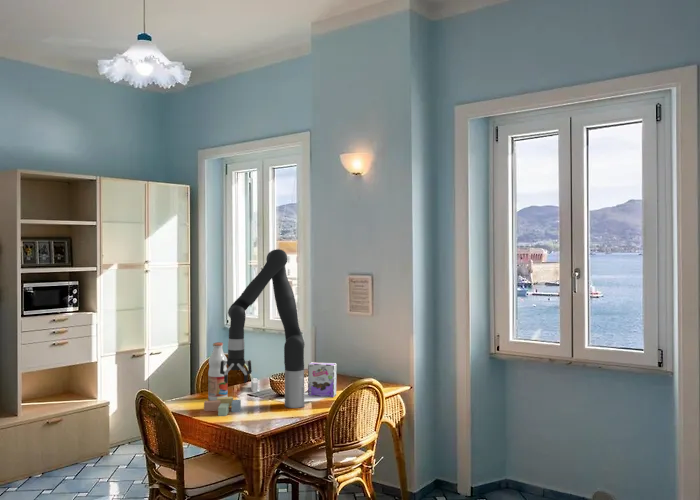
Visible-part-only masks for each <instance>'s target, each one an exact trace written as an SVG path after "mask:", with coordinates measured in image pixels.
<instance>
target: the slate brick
mask: <svg viewBox="0 0 700 500" xmlns="http://www.w3.org/2000/svg"><path fill="white" fill-rule="evenodd" d="M241 403H242V402H241V399H233V401H232V407H231V413H240V411H241V407H242V406H241Z"/></svg>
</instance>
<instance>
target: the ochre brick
mask: <svg viewBox="0 0 700 500" xmlns="http://www.w3.org/2000/svg"><path fill="white" fill-rule="evenodd" d="M217 400H221V403H229V408H230V407H231V408H232V401H233V400H234V397H233V396H228V397H218V398H217Z"/></svg>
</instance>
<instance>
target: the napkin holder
mask: <svg viewBox="0 0 700 500" xmlns="http://www.w3.org/2000/svg"><path fill="white" fill-rule="evenodd" d="M250 385H251V386H250V387H251V388H250V389H251V391H252V393H258V389H259V379H258V378H257V377H256V378H255V377H253V378H252V379H251V381H250Z"/></svg>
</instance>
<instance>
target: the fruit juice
mask: <svg viewBox="0 0 700 500" xmlns="http://www.w3.org/2000/svg"><path fill="white" fill-rule="evenodd" d="M212 347H213V351H212V353H211V354H210V356H209V358H208V365H209V366H208V367H209V368H208V373H207V375H208V377H207V378H208V379H207V381H208V382H207V383H208V389H207V390H208V392H207V394H208V395H207V396H208V398H207V399H208V401H216V400H217V398H218V397H229V396H228V394H229V393H228V390H229V389H228V387H229V386H228V384H229V383H228V382H227V383H226V382H224V375H223V374H220V367H221V361H222V360H224V361H227V360H228V356H226V355H225V352H224V350H223V347H224V343H223V342H219V341H218V342H213V343H212ZM227 369H228V365H227V363H226V364H225V366H224V370H223V371H226V370H227ZM228 373H229V372H228ZM228 373H227V375H229V374H228Z"/></svg>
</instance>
